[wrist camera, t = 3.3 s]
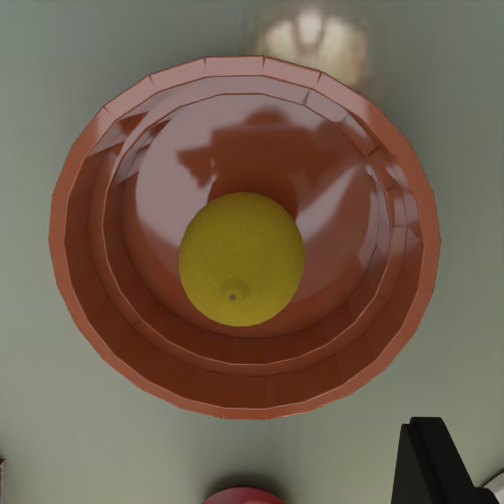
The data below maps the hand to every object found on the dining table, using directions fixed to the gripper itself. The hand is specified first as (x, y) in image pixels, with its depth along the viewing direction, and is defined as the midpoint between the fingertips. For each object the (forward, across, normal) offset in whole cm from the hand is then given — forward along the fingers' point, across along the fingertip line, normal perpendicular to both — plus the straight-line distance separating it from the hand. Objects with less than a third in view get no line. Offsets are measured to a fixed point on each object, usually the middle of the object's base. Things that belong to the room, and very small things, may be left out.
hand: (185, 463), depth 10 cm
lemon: (+16, 0, 0) cm, 16 cm away
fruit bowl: (+16, 0, 0) cm, 16 cm away
